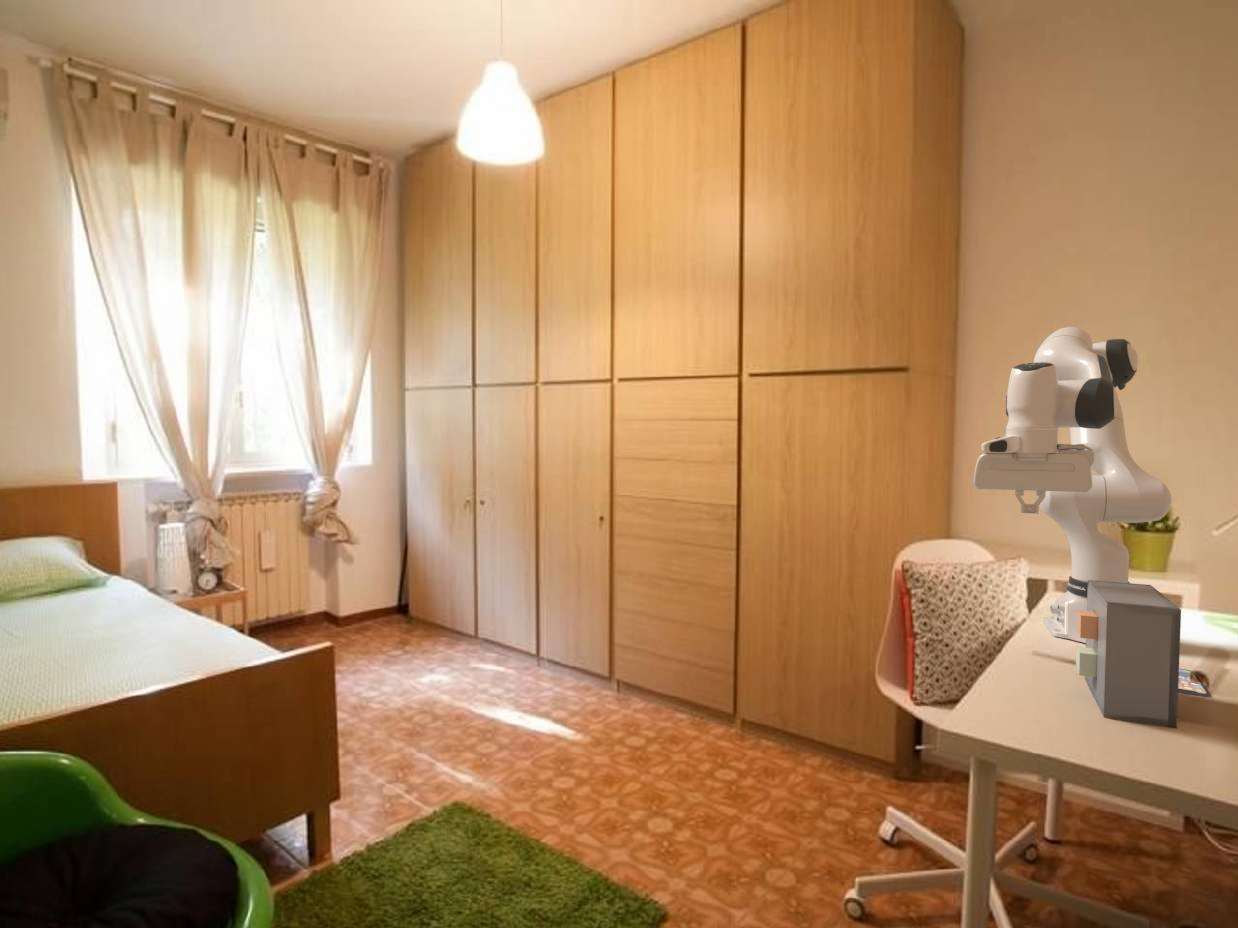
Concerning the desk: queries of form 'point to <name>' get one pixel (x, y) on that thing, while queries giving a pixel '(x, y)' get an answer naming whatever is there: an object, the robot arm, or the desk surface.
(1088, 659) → the key lower
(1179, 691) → the smartphone
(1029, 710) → the desk surface
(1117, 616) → the box
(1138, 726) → the desk surface
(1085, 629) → the key upper
